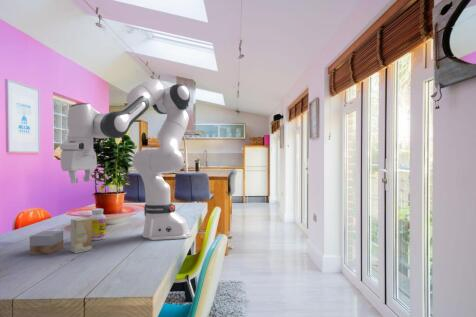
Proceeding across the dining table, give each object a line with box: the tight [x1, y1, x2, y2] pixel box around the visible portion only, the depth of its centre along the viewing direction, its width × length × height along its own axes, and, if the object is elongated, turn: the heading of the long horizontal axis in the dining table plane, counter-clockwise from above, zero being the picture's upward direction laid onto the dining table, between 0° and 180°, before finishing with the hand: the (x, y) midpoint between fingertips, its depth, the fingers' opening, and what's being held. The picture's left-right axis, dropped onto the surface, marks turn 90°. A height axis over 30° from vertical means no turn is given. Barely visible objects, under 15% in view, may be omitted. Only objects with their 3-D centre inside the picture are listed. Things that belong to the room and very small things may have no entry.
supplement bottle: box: [88, 208, 107, 241], centre depth 139 cm, size 7×7×13 cm
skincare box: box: [70, 216, 93, 254], centre depth 121 cm, size 6×4×12 cm
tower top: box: [29, 230, 64, 247], centre depth 122 cm, size 8×8×4 cm
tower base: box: [29, 239, 65, 255], centre depth 122 cm, size 8×8×4 cm
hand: (80, 182), depth 121 cm, fingers open, 8 cm apart
